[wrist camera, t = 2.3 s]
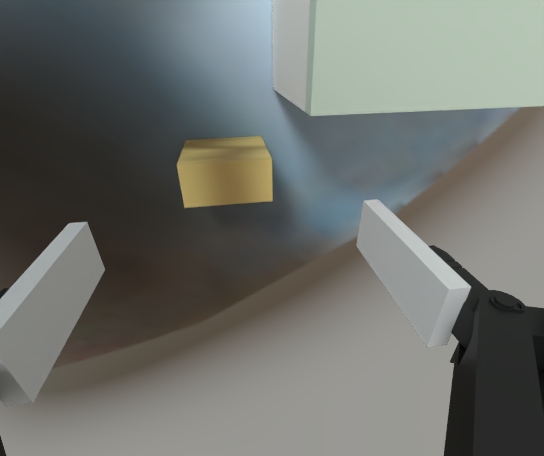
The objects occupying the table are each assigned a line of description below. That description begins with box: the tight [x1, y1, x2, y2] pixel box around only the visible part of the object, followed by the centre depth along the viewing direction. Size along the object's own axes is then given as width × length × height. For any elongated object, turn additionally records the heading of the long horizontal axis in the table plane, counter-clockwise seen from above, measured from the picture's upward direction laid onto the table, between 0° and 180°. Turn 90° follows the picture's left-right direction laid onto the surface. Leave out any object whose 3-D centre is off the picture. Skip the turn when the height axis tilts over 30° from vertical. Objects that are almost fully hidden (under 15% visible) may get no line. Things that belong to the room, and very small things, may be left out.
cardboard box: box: [177, 136, 273, 208], centre depth 22 cm, size 6×3×6 cm, turn 91°
